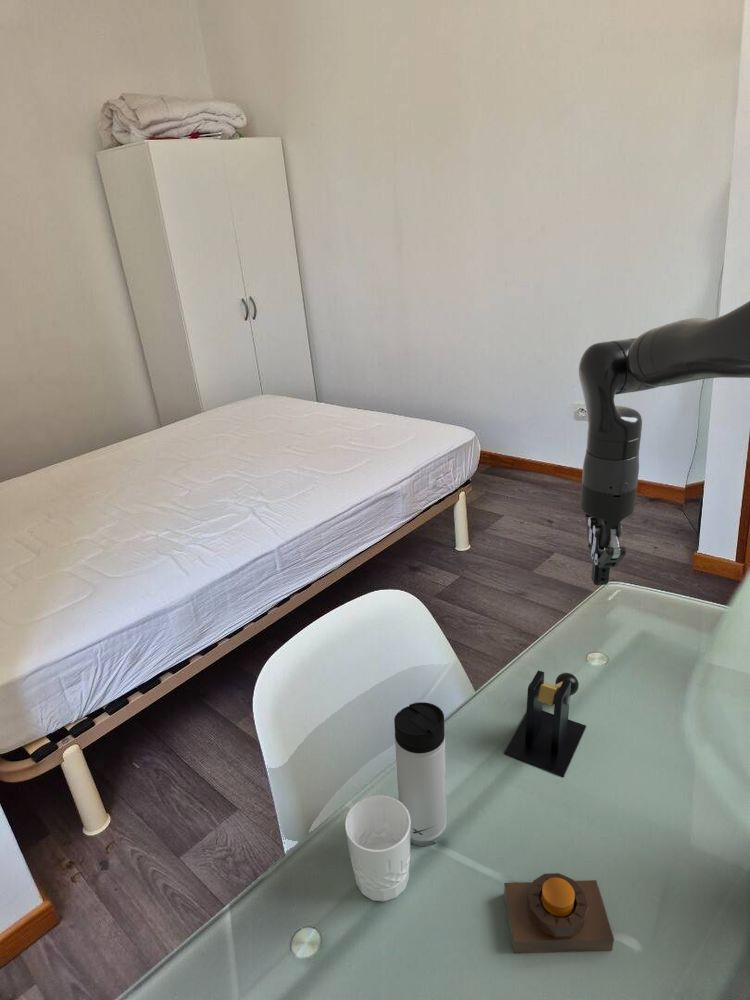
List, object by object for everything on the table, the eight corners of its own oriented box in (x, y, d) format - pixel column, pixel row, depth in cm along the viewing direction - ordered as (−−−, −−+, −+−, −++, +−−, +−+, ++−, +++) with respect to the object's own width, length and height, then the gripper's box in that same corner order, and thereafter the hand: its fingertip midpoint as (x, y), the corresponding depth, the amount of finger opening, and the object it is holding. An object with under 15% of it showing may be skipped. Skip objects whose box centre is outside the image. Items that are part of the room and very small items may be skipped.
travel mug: (424, 858, 88) (419, 743, 80) (390, 825, 93) (382, 713, 84) (458, 829, 92) (457, 716, 83) (424, 799, 97) (420, 689, 88)
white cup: (360, 915, 82) (354, 860, 78) (344, 858, 89) (338, 804, 85) (422, 895, 84) (419, 839, 80) (402, 841, 91) (398, 787, 86)
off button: (569, 886, 80) (570, 876, 79) (577, 916, 77) (578, 906, 76) (538, 887, 80) (539, 877, 80) (545, 917, 77) (545, 907, 76)
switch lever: (556, 690, 112) (561, 668, 112) (578, 697, 110) (583, 675, 110) (531, 703, 100) (536, 679, 100) (556, 711, 98) (561, 686, 98)
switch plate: (594, 891, 83) (597, 869, 81) (612, 951, 77) (615, 929, 75) (503, 894, 84) (504, 872, 82) (513, 953, 77) (514, 931, 75)
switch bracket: (529, 711, 111) (532, 653, 105) (585, 731, 106) (591, 671, 101) (503, 758, 102) (505, 697, 97) (563, 781, 98) (568, 719, 93)
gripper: (571, 463, 104) (564, 561, 112) (595, 501, 92) (586, 608, 100) (621, 460, 104) (611, 559, 111) (652, 499, 92) (638, 606, 99)
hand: (599, 582), depth 106 cm, fingers closed
